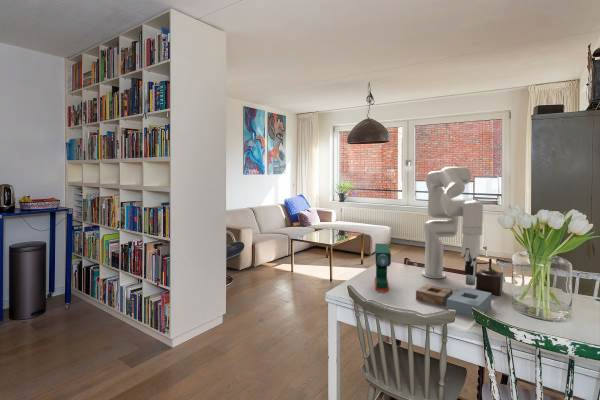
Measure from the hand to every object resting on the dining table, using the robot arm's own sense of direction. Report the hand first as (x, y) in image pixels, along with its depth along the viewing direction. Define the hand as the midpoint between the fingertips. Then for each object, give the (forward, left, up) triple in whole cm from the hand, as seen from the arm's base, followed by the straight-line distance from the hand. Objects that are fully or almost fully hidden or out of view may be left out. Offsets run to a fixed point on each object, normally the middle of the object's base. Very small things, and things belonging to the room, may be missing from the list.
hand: (470, 273), depth 146 cm
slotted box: (0, 0, -16) cm, 16 cm away
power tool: (+1, -41, -16) cm, 44 cm away
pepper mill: (-30, -2, -16) cm, 34 cm away
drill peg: (0, 0, -5) cm, 5 cm away
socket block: (0, -15, -16) cm, 22 cm away
